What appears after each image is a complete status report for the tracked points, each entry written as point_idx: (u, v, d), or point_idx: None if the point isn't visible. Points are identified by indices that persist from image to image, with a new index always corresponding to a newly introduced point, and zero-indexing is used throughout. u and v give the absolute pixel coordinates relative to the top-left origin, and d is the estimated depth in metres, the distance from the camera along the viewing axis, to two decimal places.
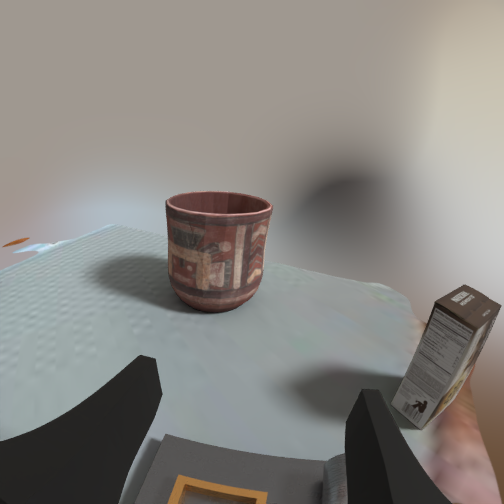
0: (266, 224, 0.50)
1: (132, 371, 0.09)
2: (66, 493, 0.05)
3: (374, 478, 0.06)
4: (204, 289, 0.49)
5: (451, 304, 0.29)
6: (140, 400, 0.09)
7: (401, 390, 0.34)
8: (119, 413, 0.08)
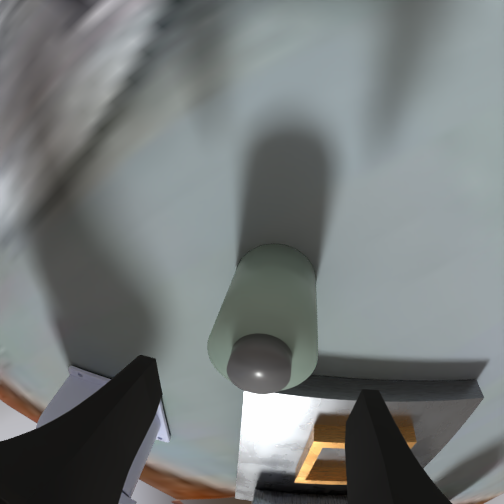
0: None
1: (132, 371, 0.09)
2: (66, 493, 0.05)
3: (374, 478, 0.06)
4: None
5: None
6: (140, 400, 0.09)
7: None
8: (119, 413, 0.08)
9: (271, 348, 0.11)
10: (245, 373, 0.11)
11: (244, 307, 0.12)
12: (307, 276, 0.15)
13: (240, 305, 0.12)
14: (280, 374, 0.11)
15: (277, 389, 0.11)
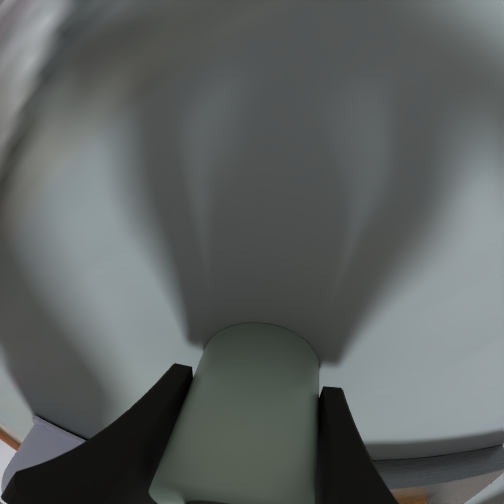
0: None
1: (170, 381, 0.09)
2: None
3: (327, 478, 0.07)
4: None
5: None
6: (178, 410, 0.09)
7: None
8: (160, 426, 0.08)
9: None
10: None
11: (194, 472, 0.06)
12: (305, 383, 0.09)
13: (188, 466, 0.06)
14: None
15: None
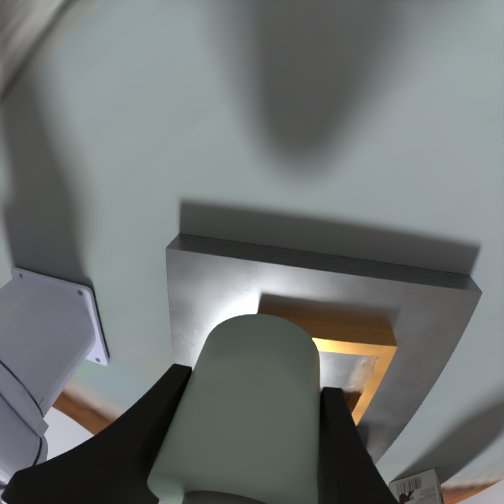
0: None
1: (170, 381, 0.09)
2: None
3: (327, 478, 0.07)
4: None
5: None
6: None
7: (432, 489, 0.24)
8: (160, 426, 0.08)
9: None
10: None
11: (188, 459, 0.06)
12: (304, 371, 0.09)
13: (183, 453, 0.06)
14: None
15: None
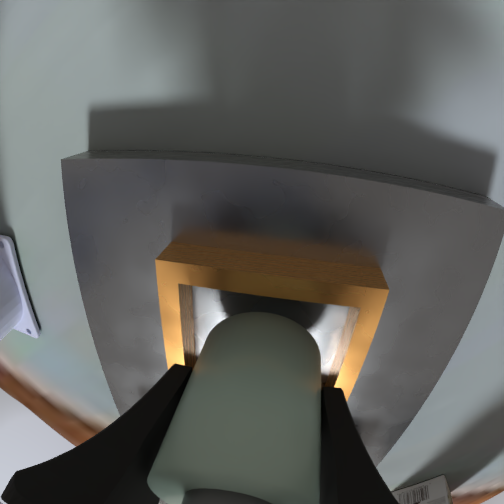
0: None
1: (170, 381, 0.09)
2: None
3: (327, 478, 0.07)
4: None
5: None
6: None
7: (442, 500, 0.18)
8: (160, 426, 0.08)
9: None
10: None
11: (186, 456, 0.06)
12: (303, 367, 0.09)
13: (182, 450, 0.06)
14: None
15: None
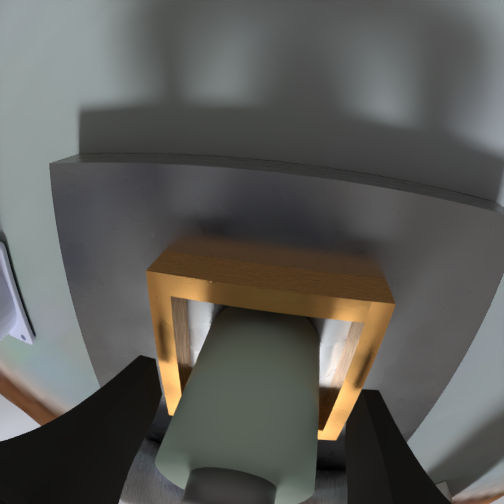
0: None
1: (132, 371, 0.09)
2: (66, 493, 0.05)
3: (374, 478, 0.06)
4: None
5: None
6: (140, 400, 0.09)
7: None
8: (119, 413, 0.08)
9: (237, 495, 0.06)
10: None
11: (192, 436, 0.06)
12: (302, 353, 0.10)
13: (187, 431, 0.07)
14: None
15: None
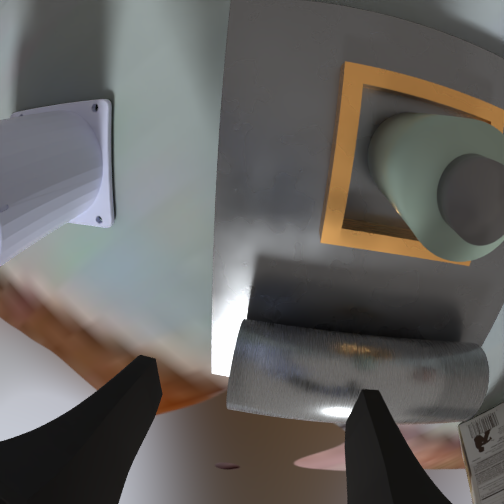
0: None
1: (132, 371, 0.09)
2: (66, 493, 0.05)
3: (374, 478, 0.06)
4: None
5: None
6: (140, 400, 0.09)
7: None
8: (119, 413, 0.08)
9: None
10: (472, 204, 0.07)
11: (448, 119, 0.07)
12: None
13: (440, 121, 0.07)
14: None
15: (502, 231, 0.07)
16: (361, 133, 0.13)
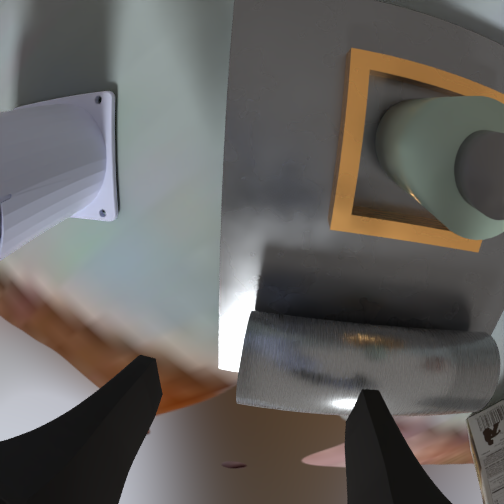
0: None
1: (132, 371, 0.09)
2: (66, 493, 0.05)
3: (374, 478, 0.06)
4: None
5: None
6: (140, 400, 0.09)
7: None
8: (119, 413, 0.08)
9: None
10: (491, 178, 0.06)
11: (459, 97, 0.07)
12: None
13: (452, 100, 0.07)
14: None
15: None
16: (368, 120, 0.13)
